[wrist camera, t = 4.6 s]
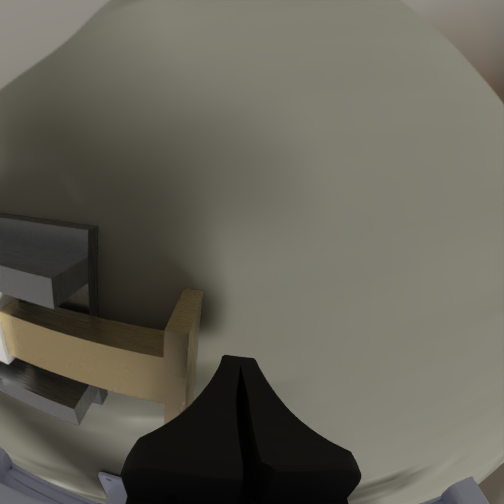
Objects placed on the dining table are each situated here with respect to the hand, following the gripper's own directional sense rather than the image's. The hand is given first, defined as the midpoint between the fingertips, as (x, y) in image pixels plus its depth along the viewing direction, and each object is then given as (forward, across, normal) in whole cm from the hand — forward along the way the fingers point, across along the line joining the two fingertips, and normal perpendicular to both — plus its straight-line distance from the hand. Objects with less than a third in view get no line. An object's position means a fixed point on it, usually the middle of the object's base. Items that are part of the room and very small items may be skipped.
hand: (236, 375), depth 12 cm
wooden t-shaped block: (+2, +7, 0) cm, 7 cm away
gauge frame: (+2, +13, 0) cm, 13 cm away
